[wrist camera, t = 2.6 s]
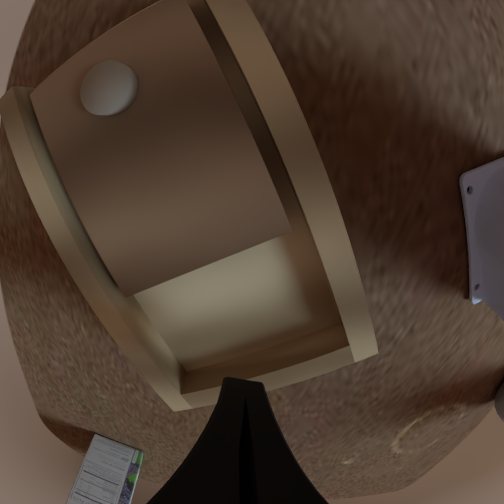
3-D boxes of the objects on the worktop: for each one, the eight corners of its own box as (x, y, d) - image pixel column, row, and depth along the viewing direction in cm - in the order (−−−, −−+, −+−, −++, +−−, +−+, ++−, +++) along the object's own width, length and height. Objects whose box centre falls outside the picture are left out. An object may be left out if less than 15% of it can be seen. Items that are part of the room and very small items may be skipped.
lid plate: (288, 219, 12) (295, 238, 10) (137, 281, 13) (118, 307, 11) (189, 5, 9) (175, -18, 6) (49, 95, 10) (17, 94, 8)
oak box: (352, 300, 17) (378, 352, 12) (188, 356, 19) (174, 411, 14) (227, 0, 11) (216, -47, 6) (53, 103, 12) (-3, 102, 8)
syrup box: (140, 468, 26) (117, 566, 13) (95, 450, 26) (62, 544, 12) (144, 450, 24) (115, 565, 11) (92, 430, 24) (51, 538, 10)
